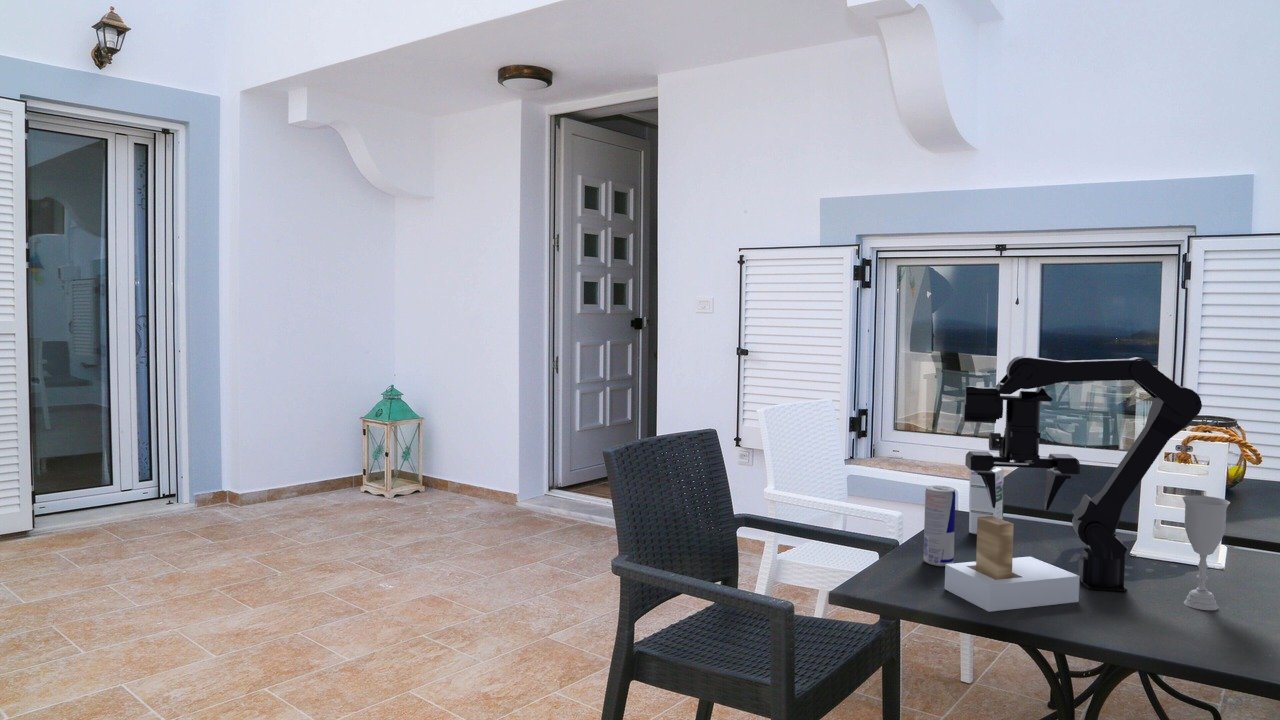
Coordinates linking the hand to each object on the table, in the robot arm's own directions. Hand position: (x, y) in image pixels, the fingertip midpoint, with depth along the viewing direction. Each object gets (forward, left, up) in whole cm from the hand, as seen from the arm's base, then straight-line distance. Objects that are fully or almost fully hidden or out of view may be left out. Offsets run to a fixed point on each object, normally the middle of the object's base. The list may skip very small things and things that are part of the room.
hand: (1019, 508), depth 163 cm
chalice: (-27, +10, -13) cm, 32 cm away
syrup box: (-1, -33, -13) cm, 36 cm away
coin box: (+4, +11, -13) cm, 17 cm away
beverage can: (+13, -7, -13) cm, 20 cm away
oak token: (+7, +12, -12) cm, 19 cm away
